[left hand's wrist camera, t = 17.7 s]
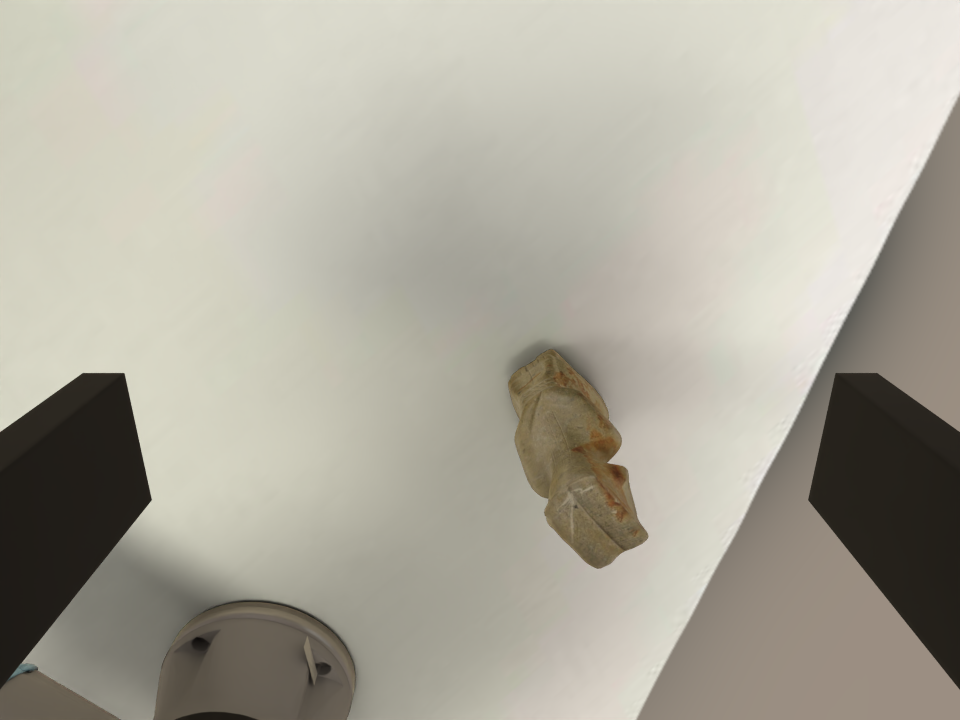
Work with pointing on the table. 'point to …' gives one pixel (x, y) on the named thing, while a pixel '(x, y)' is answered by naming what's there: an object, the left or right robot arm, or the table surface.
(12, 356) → the table surface
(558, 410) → the sculpture
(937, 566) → the left robot arm
